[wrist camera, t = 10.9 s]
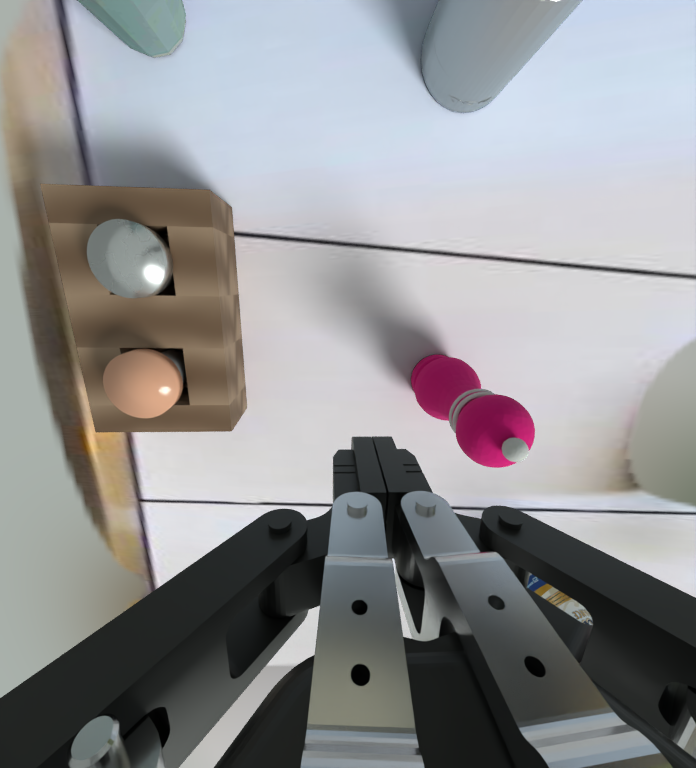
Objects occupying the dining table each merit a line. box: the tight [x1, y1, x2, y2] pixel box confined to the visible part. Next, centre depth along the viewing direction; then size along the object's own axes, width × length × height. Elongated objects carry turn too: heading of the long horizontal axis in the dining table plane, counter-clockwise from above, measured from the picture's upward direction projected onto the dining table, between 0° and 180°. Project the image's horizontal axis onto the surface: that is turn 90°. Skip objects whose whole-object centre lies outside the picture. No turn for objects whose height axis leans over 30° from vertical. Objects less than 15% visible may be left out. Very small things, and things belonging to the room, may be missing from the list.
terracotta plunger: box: [103, 348, 187, 418], centre depth 34 cm, size 6×6×7 cm
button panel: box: [40, 184, 247, 432], centre depth 35 cm, size 23×14×7 cm, turn 179°
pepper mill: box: [411, 355, 535, 467], centre depth 33 cm, size 7×7×20 cm
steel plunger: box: [87, 219, 174, 298], centre depth 32 cm, size 6×6×7 cm
